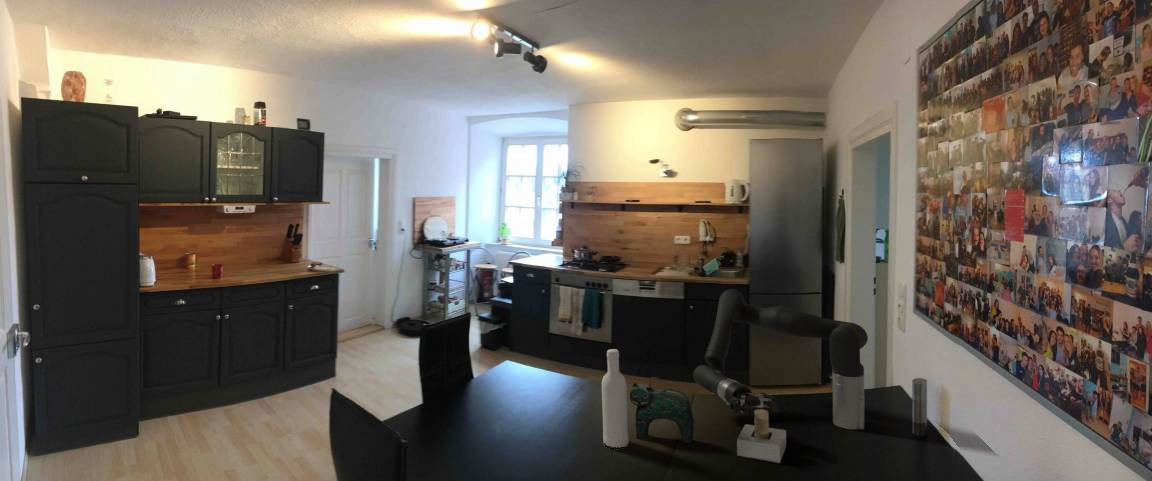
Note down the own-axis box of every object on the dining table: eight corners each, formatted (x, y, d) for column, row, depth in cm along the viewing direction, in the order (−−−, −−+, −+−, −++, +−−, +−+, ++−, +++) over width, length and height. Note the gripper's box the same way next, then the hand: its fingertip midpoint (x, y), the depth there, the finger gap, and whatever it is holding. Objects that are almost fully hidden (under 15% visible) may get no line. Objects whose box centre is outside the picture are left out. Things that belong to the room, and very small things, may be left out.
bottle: (611, 451, 170) (608, 355, 168) (598, 442, 177) (595, 349, 175) (633, 445, 174) (630, 351, 172) (620, 436, 181) (617, 345, 179)
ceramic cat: (630, 439, 179) (628, 377, 178) (635, 431, 185) (633, 371, 184) (692, 446, 172) (691, 382, 171) (695, 437, 178) (694, 376, 177)
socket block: (786, 446, 170) (785, 430, 169) (780, 463, 159) (779, 446, 159) (745, 439, 175) (745, 424, 175) (737, 455, 165) (736, 439, 165)
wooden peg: (770, 449, 168) (769, 410, 167) (767, 454, 165) (767, 415, 164) (756, 446, 170) (755, 408, 169) (753, 452, 167) (753, 413, 166)
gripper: (714, 384, 178) (743, 401, 162) (753, 379, 182) (785, 394, 166) (714, 407, 178) (744, 426, 163) (753, 401, 182) (785, 419, 167)
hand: (764, 410), depth 165 cm, fingers open, 8 cm apart
